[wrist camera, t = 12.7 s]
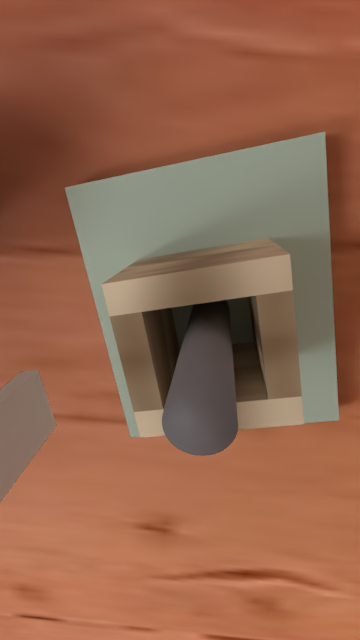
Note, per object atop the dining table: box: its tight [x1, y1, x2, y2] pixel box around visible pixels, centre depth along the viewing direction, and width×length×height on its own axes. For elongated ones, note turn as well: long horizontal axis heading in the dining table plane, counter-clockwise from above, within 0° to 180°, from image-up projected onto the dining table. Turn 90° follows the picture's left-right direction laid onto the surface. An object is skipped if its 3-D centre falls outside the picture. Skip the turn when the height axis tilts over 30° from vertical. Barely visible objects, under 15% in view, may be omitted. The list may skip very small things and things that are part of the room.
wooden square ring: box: [101, 238, 304, 438], centre depth 19 cm, size 8×8×7 cm
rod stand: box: [64, 132, 339, 456], centre depth 17 cm, size 15×18×14 cm
